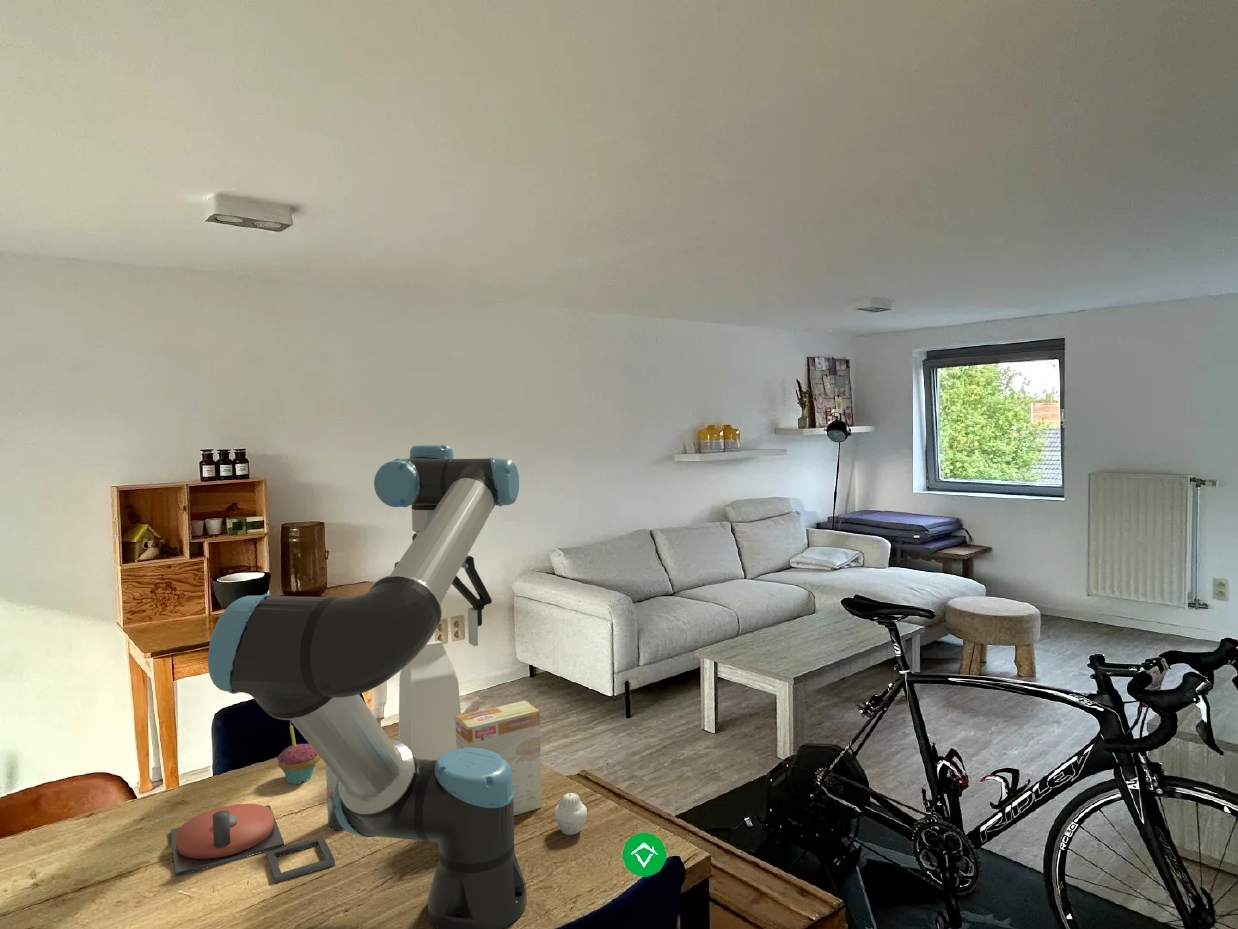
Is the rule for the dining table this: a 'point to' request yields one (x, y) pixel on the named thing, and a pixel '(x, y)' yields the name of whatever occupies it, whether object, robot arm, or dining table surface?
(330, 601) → the robot arm
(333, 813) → the metal peg
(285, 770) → the cupcake
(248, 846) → the red disc with handle
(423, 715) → the milk
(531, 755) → the coffeecake box
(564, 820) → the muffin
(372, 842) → the dining table surface
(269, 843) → the wheel base
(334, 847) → the dining table surface
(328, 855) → the grey flat square frame
